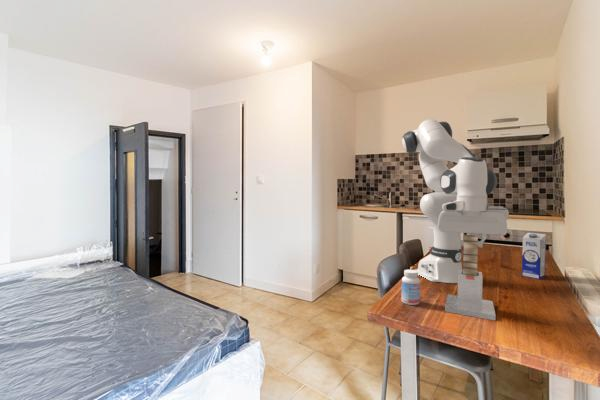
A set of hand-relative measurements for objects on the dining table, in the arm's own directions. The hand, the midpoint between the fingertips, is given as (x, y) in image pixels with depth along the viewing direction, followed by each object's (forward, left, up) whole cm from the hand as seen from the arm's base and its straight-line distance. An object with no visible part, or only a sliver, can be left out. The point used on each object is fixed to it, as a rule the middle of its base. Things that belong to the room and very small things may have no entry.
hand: (470, 246), depth 101 cm
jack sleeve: (0, 0, -21) cm, 21 cm away
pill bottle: (-12, -14, -21) cm, 28 cm away
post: (0, 0, -13) cm, 13 cm away
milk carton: (-13, +62, -21) cm, 67 cm away
